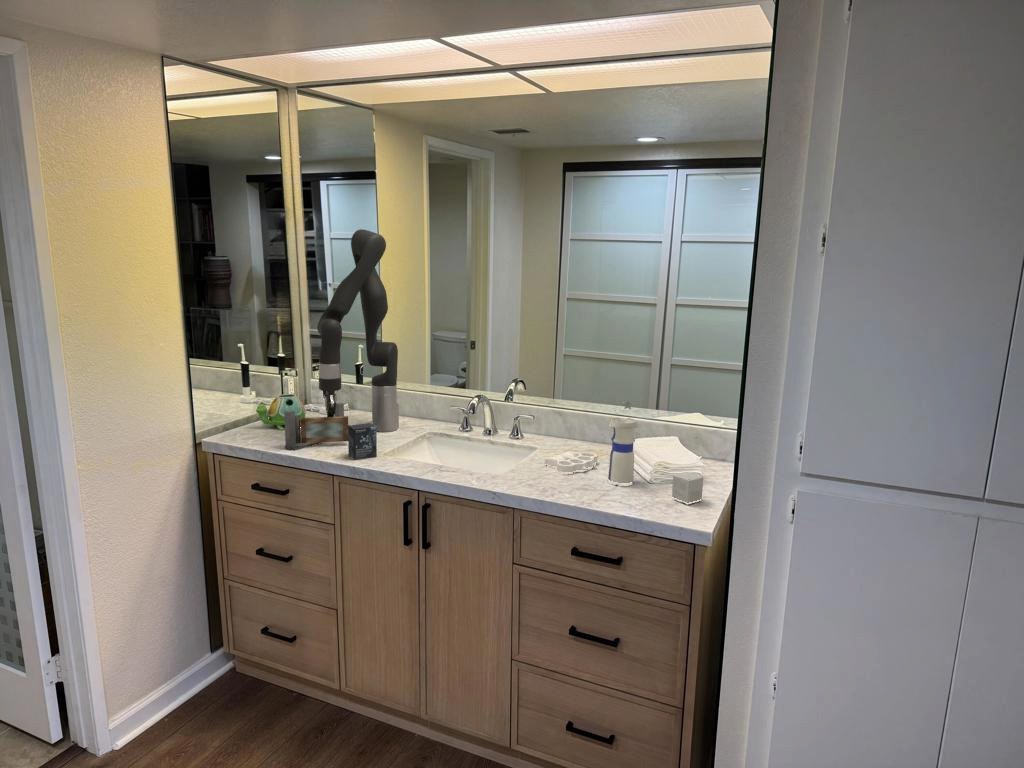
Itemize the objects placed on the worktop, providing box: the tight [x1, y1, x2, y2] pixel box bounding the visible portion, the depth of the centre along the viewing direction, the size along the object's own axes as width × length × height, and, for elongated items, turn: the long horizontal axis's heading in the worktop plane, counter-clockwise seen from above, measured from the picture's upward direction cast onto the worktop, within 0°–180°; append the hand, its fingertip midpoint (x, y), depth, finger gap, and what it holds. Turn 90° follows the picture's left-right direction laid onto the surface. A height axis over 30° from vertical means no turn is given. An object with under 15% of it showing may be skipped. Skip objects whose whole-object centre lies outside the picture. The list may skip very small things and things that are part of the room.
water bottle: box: [607, 398, 638, 483], centre depth 210 cm, size 8×8×25 cm
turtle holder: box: [255, 393, 307, 431], centre depth 265 cm, size 12×18×12 cm
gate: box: [295, 415, 349, 444], centre depth 241 cm, size 18×2×10 cm, turn 105°
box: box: [347, 422, 378, 461], centre depth 231 cm, size 8×6×11 cm
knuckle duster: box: [543, 451, 598, 472], centre depth 226 cm, size 3×18×15 cm
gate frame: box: [284, 402, 345, 451], centre depth 246 cm, size 24×5×13 cm, turn 146°
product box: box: [671, 471, 704, 503], centre depth 197 cm, size 6×6×7 cm
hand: (330, 424), depth 245 cm, fingers closed
